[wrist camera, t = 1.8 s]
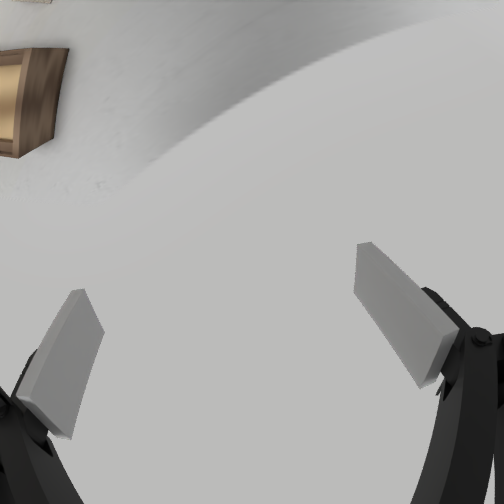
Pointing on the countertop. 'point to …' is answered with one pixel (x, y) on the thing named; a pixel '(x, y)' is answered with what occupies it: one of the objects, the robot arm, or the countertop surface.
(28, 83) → the walnut box
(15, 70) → the cover plate
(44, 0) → the condiment
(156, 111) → the countertop surface
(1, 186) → the countertop surface
